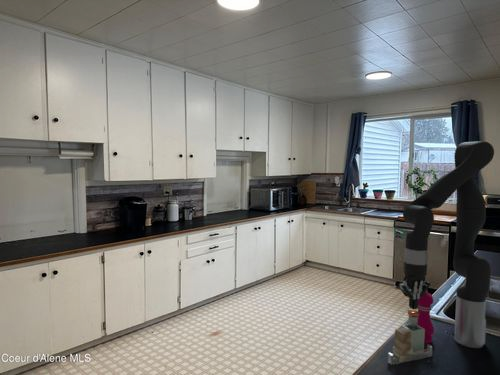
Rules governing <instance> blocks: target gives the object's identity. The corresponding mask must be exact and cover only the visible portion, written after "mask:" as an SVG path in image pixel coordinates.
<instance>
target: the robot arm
mask: <svg viewBox="0 0 500 375" xmlns="http://www.w3.org/2000/svg"><path fill="white" fill-rule="evenodd" d="M494 156H495V149H494V146H493V145H492V144H491V143H490V142H489V141H484V140H479V141H478V140H477V141H465V142H461V143H459V144H458V145H457V146H456V148H455V151H454V157H453V158H454V169H452V170H451V171H449V172H447V173H446V174H445V175H442V176H441V177H439V178H438V179H436V181H434V182H433V183H432V184H431V185H430V186H429V187H428V188H427V190H426V191H425V192H424V193H423V194H422V195H419V196H418V197H416V198H415V199H414V200H412V201H411V202H410V203H408V204H407V205H406V207H405V208H404V209H403V212H402V218H403V221H405V222H406V223H408V224H410V225H414V228H413V229H412V230H413V231H411V230H410V231H408V232H407V233H406V235H405V249H404V256H403V273H404V277H403V282H402V283H398V288H399V289H400V290H401V292H402V294H403V296H405V297H407V298H409V299H408V306H409V308H410V309H411V310H418V308H417V307H418V299H419V298H420V297H423V296H424V294H425V292H426V291H427V292H428V290H429V288H430V286H431V282H429V281H427V279H426V276H427V275H428V260H429V259H428V248H429V247H428V245H429V244H428V243H429V242H428V240H429V236H430V235H431V231H432V227H433V225H434V221H435V214H434V211H433V210H434V209H439V208H441V207H442V206H443V205H444V204H445V203H446V201H448V199H449V198H450V197H451V196H452V195H453V194H454V193H455V192H456V209H455V211H456V216H455V218H456V220H455V221H456V224H455V225H456V228H455V232H456V233H455V244H454V250H453V252H454V253H453V258H452V261H453V262H452V267H453V270H454V272H455V274H457V275H459V276H460V277H462V278H464V279H465V285H462V286H458V287H457V288H456V295H455V296H456V297H455V315H454V317H455V318H454V336H453V337H454V341H455V342H456V343H458V344H460V345H461V346H464V347H467V348H471V349H481V348H483V347H484V345H485V344H486V332H487V331H486V328H487V319H486V303H487V302H486V301H487V295H488V293H489V291H490V284H491V278H492V277H491V275H492V269H491V265H490V262H489V261H488V260H487V259H485V258H484V257H481V256H478V255H475V242H476V239H477V236H478V235H479V233H480V232H481V230H482V228H483V227H484V225H485V223H486V218H487V215H486V214H487V204H486V199H485V197H484V194H483V193H482V191H481V190H480V188H479V186H478V184H477V181H476V177H475V175H477V173H479V172H480V171H481V170H483V169H484V168H485V167H487V165H489V163H491V161H492V160H493V159H494Z"/></svg>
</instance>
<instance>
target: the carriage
mask: <svg viewBox="0 0 500 375" xmlns="http://www.w3.org/2000/svg"><path fill="white" fill-rule="evenodd" d="M412 353H413V349H411V332H410V331H408V330H407V329H405V328H401V327H400V328H395V330H394V346H392V354H393V356H397V357H398V358H399V362H402V361H407V360H411V359H412Z"/></svg>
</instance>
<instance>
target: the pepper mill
mask: <svg viewBox="0 0 500 375" xmlns="http://www.w3.org/2000/svg"><path fill="white" fill-rule="evenodd" d="M433 304H434V298H433V295H432V294H431V293H430V292H428V290H427V291H426V292H425V294H424V296H423V297H420V298H419V299H418V307H417V311H418V312H419V316H418V326H420V327H422V328H424V329H425V338H424V344H426V345H428V344H431V343H432V342H433V336H432V335H433V334H434V332H435V330H434V329H435V328H434V324H433V322H432V319H431V313H430V312H431V311H432V305H433Z"/></svg>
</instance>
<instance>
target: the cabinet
mask: <svg viewBox="0 0 500 375" xmlns="http://www.w3.org/2000/svg"><path fill="white" fill-rule="evenodd" d="M400 328H405V329H407V330H408V331H410V332H411V349H413V352H415V351H420V350H424V349H425V343H424V338H425V329H424V328H422V327H420V326H418V327H417V330H412V329H410V328H408V323H407V324H401V325H400Z"/></svg>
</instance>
